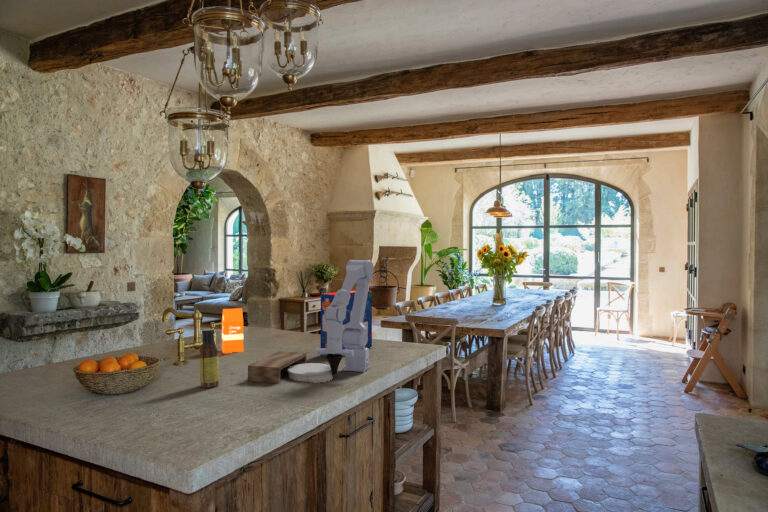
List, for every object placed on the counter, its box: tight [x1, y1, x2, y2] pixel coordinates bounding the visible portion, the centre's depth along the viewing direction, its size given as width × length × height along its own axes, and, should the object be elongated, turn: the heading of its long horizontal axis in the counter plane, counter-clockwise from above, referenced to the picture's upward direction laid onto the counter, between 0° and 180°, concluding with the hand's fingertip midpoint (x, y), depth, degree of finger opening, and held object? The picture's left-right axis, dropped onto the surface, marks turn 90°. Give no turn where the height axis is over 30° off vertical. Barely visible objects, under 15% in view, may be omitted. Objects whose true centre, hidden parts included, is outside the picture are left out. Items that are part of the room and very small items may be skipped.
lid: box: [286, 362, 334, 384], centre depth 189 cm, size 17×20×3 cm
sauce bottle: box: [199, 328, 220, 389], centre depth 175 cm, size 6×6×20 cm
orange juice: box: [221, 307, 244, 354], centre depth 233 cm, size 8×9×20 cm
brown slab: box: [247, 350, 307, 384], centre depth 192 cm, size 12×26×6 cm, turn 167°
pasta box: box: [320, 289, 373, 357], centre depth 234 cm, size 28×8×28 cm, turn 145°
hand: (334, 374), depth 187 cm, fingers closed
